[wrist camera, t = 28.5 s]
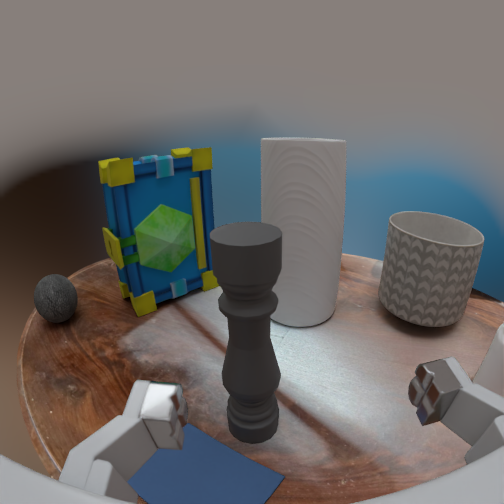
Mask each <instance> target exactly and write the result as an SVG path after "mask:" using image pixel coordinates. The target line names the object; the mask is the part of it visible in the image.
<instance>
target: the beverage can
mask: <svg viewBox="0 0 504 504" xmlns="http://www.w3.org/2000/svg"><path fill="white" fill-rule="evenodd" d="M472 383H473V384H475V383H477V384H479V385H481V386H483V387H484V388H486V389H488V390H490V391H492V392H494V393H496V394H498V395H500V396H502V397H504V323H503V324H502V325H500V327H499V328H498V330H497V332H496V335H495V337H494V339H493V341H492V343H491V346H490V348H489V350H488V352H487V354H486V356H485V358H484V360H483V362H482V364H481V366H480V368H479V370H478V372H477V374H476V375H475V377H474V379H473V381H472Z"/></svg>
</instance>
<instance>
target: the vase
mask: <svg viewBox="0 0 504 504" xmlns="http://www.w3.org/2000/svg"><path fill="white" fill-rule="evenodd" d="M345 189H346V141H344V140H336V139H321V138H262V139H261V207H262V208H261V217H262V218H261V219H262V221H261V222H262V223H266V224H271V225H274V226H276V227H278V228H279V229H280V230H281V231H282V269H281V272H280V275H279V276H278V279H277V282H276V284H275V285H274V286H273V289H272V291H273V292H274V293H276V295H277V298H278V305H277V308H276V311H275V312H274V313H273V314H272V315H271V316H270V318H272V319H273V320H275V321H277V322H279V323H281V324H284V325H288V326H294V327H307V326H313V325H317V324H319V323H322V322H324V321H326V320H327V319H328V318H330V317H331V315H332V314H333V312H334V309H335V305H336V299H337V293H338V286H339V276H340V266H341V255H342V243H343V228H344V211H345Z"/></svg>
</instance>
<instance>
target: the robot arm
mask: <svg viewBox="0 0 504 504" xmlns="http://www.w3.org/2000/svg"><path fill="white" fill-rule="evenodd" d="M415 374H416V376H415V377H414V378H413V379H412V380H411V382H410V385H409V391H408V394H409V399H410V401H411V403H412V405H414V406H416V407H417V411H416V414H417V416H418V418H419V420H420V422H421V424H422V426H424V425H428V424H431V423H435V422H438V421H441V423H443V424H444V425H445V426H446V427H448V428H449V429H450V430H452V431H453V432H454V433H455V434H457V435H458V436H459V437H461V438H462V439H463V440H464V441H466V442H467V443H468V444H470V445H471V446H472V447H471V449H470V450H469V451H468V452H467V453H466V454H465V457H464V458H465V460H466V463H467V465H465V466H463V467H461V468H459V469H457V470H454V471H452V472H450V473H448V474H445V475H443V476H440V477H438V478H435V479H433V480H430V481H428V482H425V483H422V484H419V485H416V486H414V487H411V488H408V489H404V490H401V491H398V492H395V493H391V494H388V495H384V496H381V497H377V498H373V499H369V500H365V501H360V502H356V503H351V504H504V397H502V396H500V395H498V394H496V393H494V392H492V391H490V390H488V389H486V388H484V387H483V386H481V385H479V384H477V383H475V384H473V383H472V381H471V380H470V378H469V377H468V375H467V374H466V372H465V371H464V370H463V368H462V367H461V365H460V364H459V363H458V361H457V360H456V358H454V357H448V358H444V359H439V360H435V361H431V362H427V363H423V364H420V365H418V366H417V368H416V370H415ZM182 394H183V388H182V385H181V384H179V383H167V382H156V381H145V380H137V381H136V382H135V383H134V385H133V387H132V390H131V393H130V396H129V398H128V401H127V404H126V406H125V409H124V412H123V415H122V416H120V415H118V416H117V417H115V418H114V419H113V420H111V421H110V422H109V423H107V424H106V425H105V426H103V427H102V428H100V429H99V430H98V431H96V432H95V433H94V434H92V435H91V436H89V437H88V438H87V439H85V440H84V441H83V442H81V443H80V444H78V445H77V446H76V447H74V448H73V449H71V450H70V452H69V455H68V457H67V460H66V462H65V465H64V467H63V470H62V472H61V475H60V478H59V480H55V479H53V478H50V477H48V476H45V475H43V474H41V473H38V472H36V471H34V470H32V469H29V468H27V467H25V466H23V465H21V464H19V463H17V462H15V461H13V460H11V459H9V458H7V457H5V456H3V455H1V454H0V504H137V500H138V493H137V492H136V491H135V490H134V489H133V488H132V487H131V486H130V484H129V483H128V482H127V481H128V480H129V479H130V478H131V477H132V476H133V475H134V474H135V473H136V472H137V471H138V470H139V469H140V468H141V467H142V466H143V465H144V464H145V463H146V462H147V461H148V460H149V459H150V457H151V456H152V455H153V454H154V453H155V452H156V451H157V450H158V449H157V448H160V449H171V450H182V448H183V442H184V436H185V434H184V431H183V429H182V428H183V427H184V426H185V425H186V424H187V417H188V408H187V402H186V399H185V398H184V397H182Z"/></svg>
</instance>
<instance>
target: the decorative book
mask: <svg viewBox="0 0 504 504" xmlns="http://www.w3.org/2000/svg"><path fill="white" fill-rule="evenodd" d="M211 169H212V150H211V147H210V148H200V149H192V150H191V149H190V148H180V149H172V150H171V155H167V156H160V157H158V156H157V155H152V156H145V157H140V158H139V161H135V162H133V158H127V159H122V160H120V159H119V158H113V159H108V160H103V161H99V172H100V181H101V183H102V184H103V192H104V199H105V206H106V213H107V218H108V224H109V228H102V229H103V234H104V240H105V245H106V250H107V253H108V255H109V256H110V257H111V258H112V260H113V261H114V262H115V263H116V266H117V271H118V275H119V279H120V281H119V285H120V290H121V294H122V297H123V298H126V297H129V296H130V298H131V302H132V306H133V308H134V310H135V312H136V314H137V316H138V317H140V316H143V315H145V314H148V313H150V312H153V311H156V310H157V307H156V304H157V303H160V302H162V301H165V300H168V299H170V298H172V299H173V298H176V297H179V296H181V295H184V294H187V293H188V292H189V291H192V290H194V289H197V288H199V287H201V288H202V289H203V291H204V292H205V291H207V290H210V289H213V288H215V287H218V286H219V285H218V283H217V278H216V277H215V276H214V275H213V268H212V257H211V245H210V232H211V231H212V230H214V216H213V201H212V184H211Z"/></svg>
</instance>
